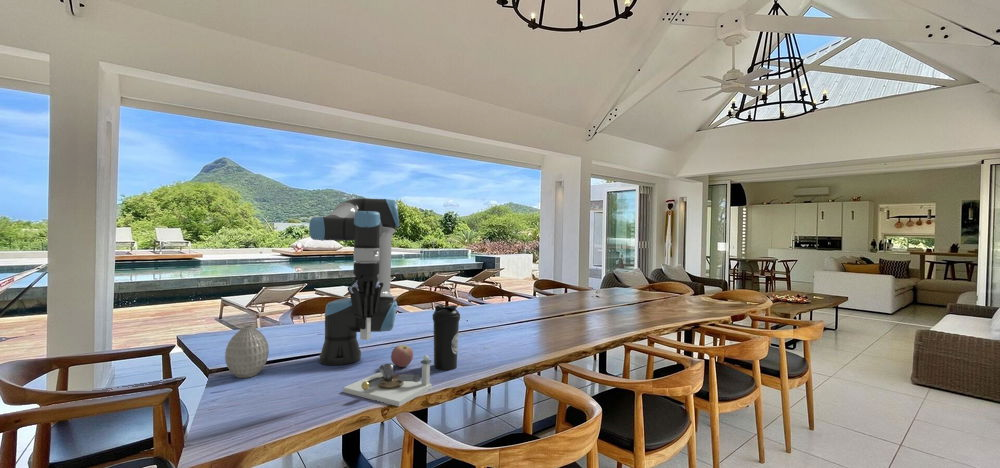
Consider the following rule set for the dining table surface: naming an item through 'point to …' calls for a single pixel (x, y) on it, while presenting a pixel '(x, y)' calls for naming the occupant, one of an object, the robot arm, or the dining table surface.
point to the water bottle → (446, 337)
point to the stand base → (396, 394)
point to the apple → (402, 355)
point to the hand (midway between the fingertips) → (365, 338)
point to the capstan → (389, 379)
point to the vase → (246, 352)
